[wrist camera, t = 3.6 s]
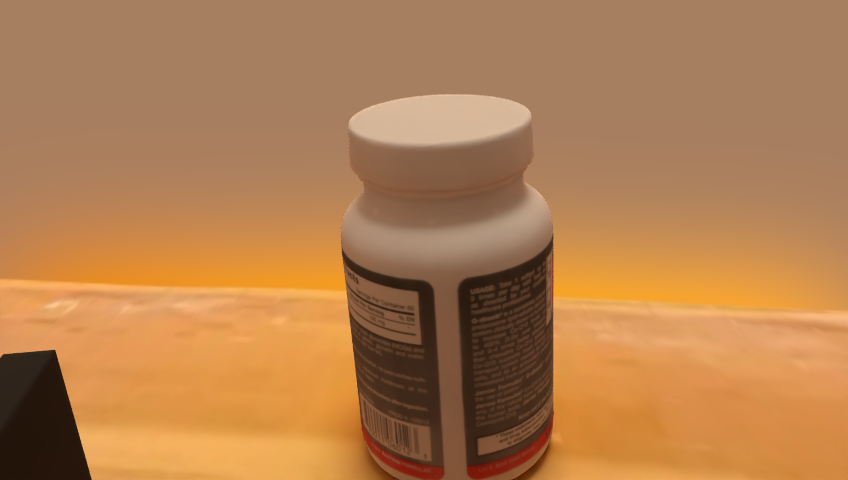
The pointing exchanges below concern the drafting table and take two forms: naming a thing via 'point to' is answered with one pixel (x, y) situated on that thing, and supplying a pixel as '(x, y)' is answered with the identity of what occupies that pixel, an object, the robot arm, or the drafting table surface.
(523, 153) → the pill bottle
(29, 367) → the robot arm
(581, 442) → the drafting table surface
